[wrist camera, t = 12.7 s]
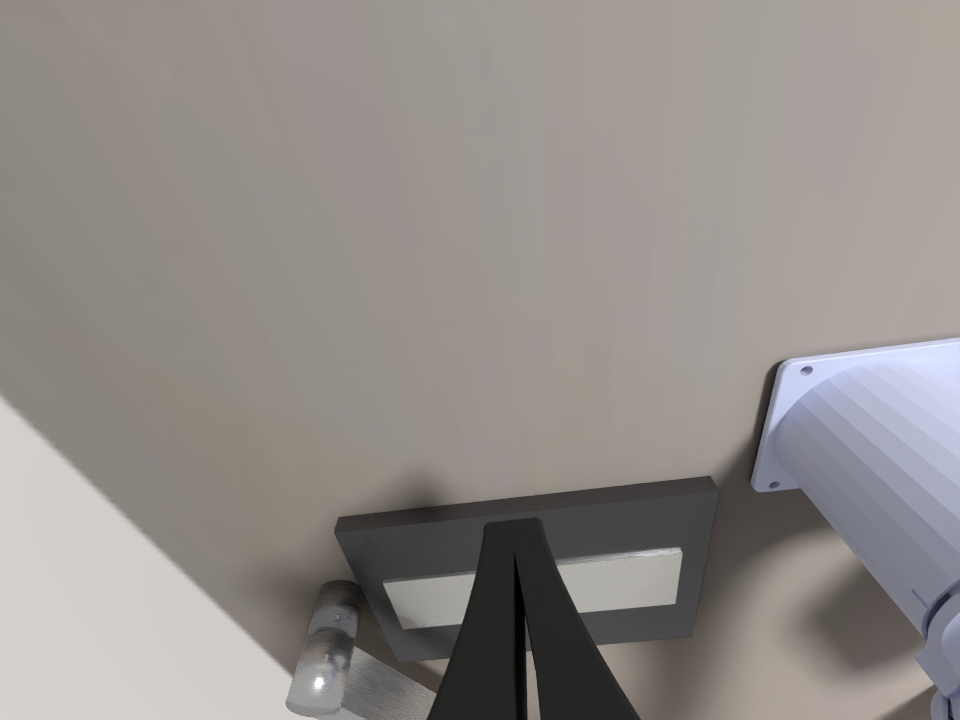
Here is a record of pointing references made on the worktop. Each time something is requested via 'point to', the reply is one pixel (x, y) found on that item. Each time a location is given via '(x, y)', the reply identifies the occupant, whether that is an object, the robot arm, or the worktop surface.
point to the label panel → (574, 546)
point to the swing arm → (352, 684)
